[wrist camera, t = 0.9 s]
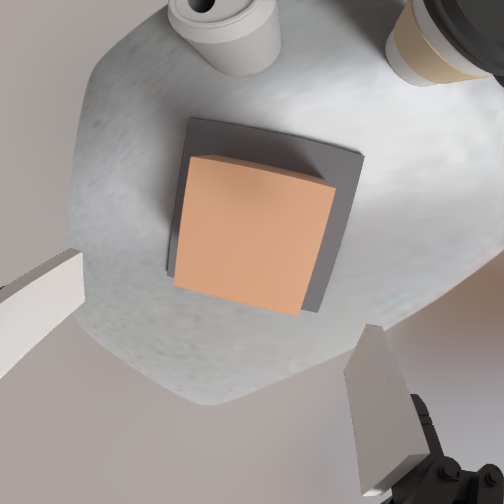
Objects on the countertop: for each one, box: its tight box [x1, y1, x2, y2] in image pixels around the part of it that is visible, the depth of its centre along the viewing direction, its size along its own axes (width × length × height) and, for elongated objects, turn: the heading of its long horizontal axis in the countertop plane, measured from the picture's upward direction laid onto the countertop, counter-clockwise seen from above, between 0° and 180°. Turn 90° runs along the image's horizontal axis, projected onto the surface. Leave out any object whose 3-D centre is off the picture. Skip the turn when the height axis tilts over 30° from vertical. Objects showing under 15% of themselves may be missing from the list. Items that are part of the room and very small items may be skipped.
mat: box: [167, 118, 365, 313], centre depth 29 cm, size 17×17×1 cm
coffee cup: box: [385, 0, 504, 87], centre depth 14 cm, size 9×9×15 cm
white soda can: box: [168, 0, 282, 76], centre depth 18 cm, size 8×8×12 cm
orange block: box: [174, 155, 336, 316], centre depth 25 cm, size 11×11×7 cm
